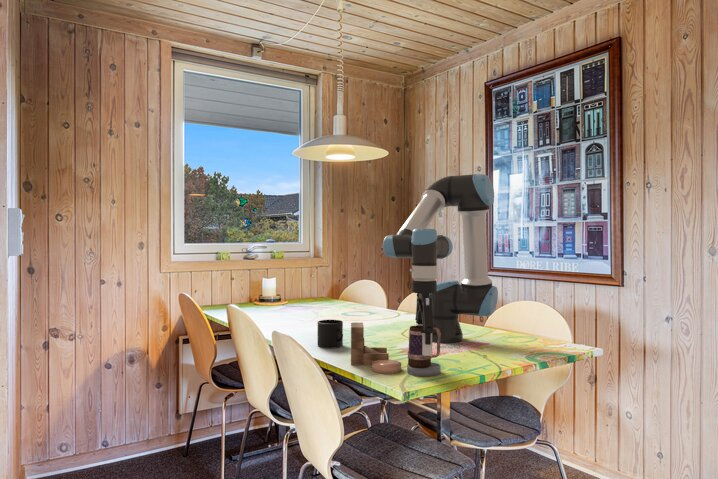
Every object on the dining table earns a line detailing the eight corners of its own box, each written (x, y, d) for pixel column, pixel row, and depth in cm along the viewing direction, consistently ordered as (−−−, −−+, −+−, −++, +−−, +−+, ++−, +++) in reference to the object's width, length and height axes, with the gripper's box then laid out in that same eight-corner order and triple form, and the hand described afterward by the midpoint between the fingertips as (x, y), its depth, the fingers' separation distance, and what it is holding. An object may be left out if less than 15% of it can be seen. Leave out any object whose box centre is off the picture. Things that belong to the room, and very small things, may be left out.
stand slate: (437, 367, 156) (437, 361, 156) (443, 376, 146) (443, 370, 146) (405, 367, 156) (405, 361, 156) (409, 376, 146) (409, 370, 146)
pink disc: (399, 365, 159) (399, 359, 159) (402, 373, 150) (402, 366, 150) (371, 365, 158) (371, 359, 158) (372, 373, 149) (372, 366, 149)
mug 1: (332, 350, 179) (332, 325, 179) (312, 345, 188) (312, 321, 188) (352, 347, 185) (352, 322, 185) (332, 341, 194) (332, 318, 194)
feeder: (386, 358, 168) (386, 322, 168) (388, 365, 159) (388, 327, 159) (350, 358, 168) (351, 322, 168) (350, 365, 159) (351, 327, 159)
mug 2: (403, 366, 150) (403, 326, 150) (414, 361, 156) (414, 323, 156) (435, 371, 145) (435, 330, 145) (444, 366, 151) (444, 326, 150)
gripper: (407, 276, 163) (406, 341, 164) (417, 283, 138) (416, 360, 139) (430, 276, 164) (429, 341, 164) (444, 283, 139) (443, 360, 139)
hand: (423, 350), depth 151 cm, fingers open, 13 cm apart
